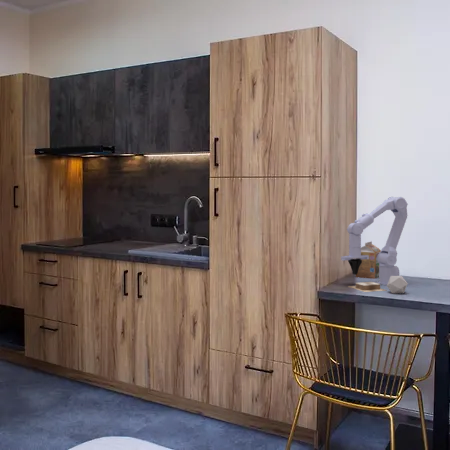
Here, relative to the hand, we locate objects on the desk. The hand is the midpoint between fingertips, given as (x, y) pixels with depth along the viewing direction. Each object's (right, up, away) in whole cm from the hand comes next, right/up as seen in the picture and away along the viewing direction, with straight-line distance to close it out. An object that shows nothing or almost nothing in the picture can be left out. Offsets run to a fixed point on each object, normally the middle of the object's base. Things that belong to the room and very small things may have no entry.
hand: (354, 274), depth 270 cm
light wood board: (+3, -6, -10) cm, 12 cm away
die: (+14, -7, -21) cm, 27 cm away
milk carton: (+14, -4, +27) cm, 30 cm away
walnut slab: (+2, -4, -8) cm, 9 cm away
